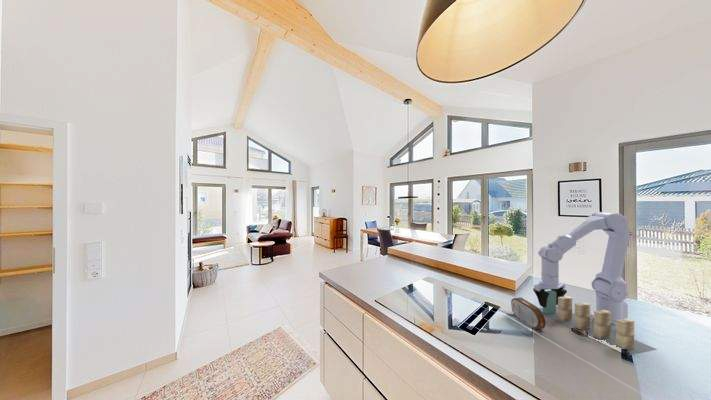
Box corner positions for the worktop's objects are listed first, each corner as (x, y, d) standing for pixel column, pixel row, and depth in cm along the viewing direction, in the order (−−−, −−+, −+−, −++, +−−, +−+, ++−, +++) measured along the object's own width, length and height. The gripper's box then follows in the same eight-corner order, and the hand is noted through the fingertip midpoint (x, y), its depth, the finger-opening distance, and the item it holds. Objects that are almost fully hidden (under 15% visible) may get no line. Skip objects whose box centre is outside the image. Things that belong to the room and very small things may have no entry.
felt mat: (555, 306, 105) (555, 305, 105) (657, 350, 75) (657, 349, 75) (531, 309, 102) (531, 309, 102) (626, 356, 72) (626, 355, 72)
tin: (546, 333, 84) (546, 311, 84) (538, 333, 84) (538, 311, 84) (516, 313, 100) (516, 294, 99) (509, 313, 99) (509, 294, 99)
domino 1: (551, 310, 101) (552, 290, 101) (556, 312, 99) (556, 291, 99) (542, 311, 100) (542, 291, 100) (547, 313, 98) (547, 292, 98)
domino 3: (584, 325, 89) (584, 302, 89) (589, 327, 87) (590, 304, 87) (574, 326, 88) (574, 303, 88) (580, 329, 86) (580, 305, 86)
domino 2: (567, 317, 95) (567, 295, 95) (572, 319, 93) (572, 297, 93) (557, 318, 94) (557, 297, 94) (562, 321, 92) (562, 298, 92)
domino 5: (626, 344, 78) (626, 318, 77) (634, 348, 76) (634, 320, 76) (615, 346, 76) (616, 319, 76) (623, 350, 75) (623, 322, 75)
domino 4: (604, 334, 83) (604, 309, 83) (610, 337, 82) (610, 312, 82) (593, 336, 82) (593, 311, 82) (600, 339, 81) (600, 313, 80)
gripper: (553, 270, 105) (553, 299, 105) (527, 272, 102) (527, 303, 102) (570, 275, 98) (570, 307, 98) (543, 278, 95) (543, 310, 95)
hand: (549, 305), depth 100 cm, fingers open, 7 cm apart
